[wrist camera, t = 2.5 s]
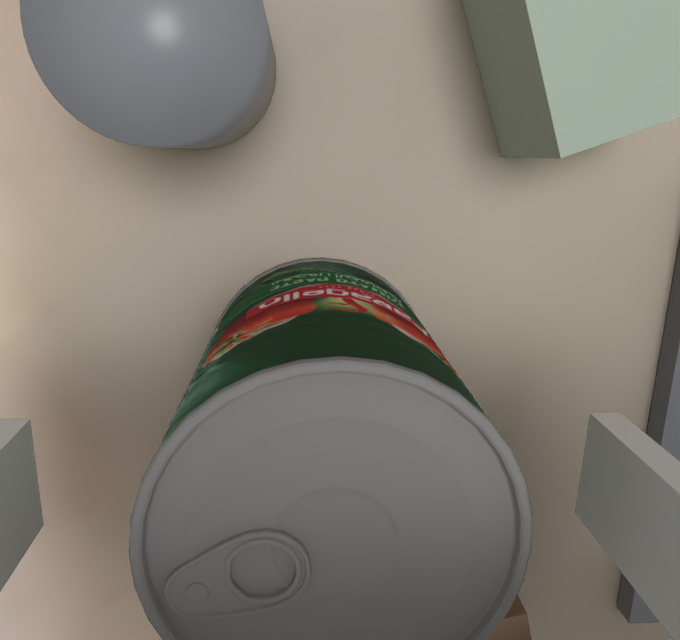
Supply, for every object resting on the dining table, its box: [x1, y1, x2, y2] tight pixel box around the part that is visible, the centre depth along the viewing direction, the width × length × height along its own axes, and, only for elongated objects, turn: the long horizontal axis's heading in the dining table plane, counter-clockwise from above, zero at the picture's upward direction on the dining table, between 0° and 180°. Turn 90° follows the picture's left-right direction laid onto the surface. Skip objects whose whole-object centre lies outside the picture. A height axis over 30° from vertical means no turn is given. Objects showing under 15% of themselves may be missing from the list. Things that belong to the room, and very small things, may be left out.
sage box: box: [462, 0, 680, 158], centre depth 18 cm, size 6×4×5 cm, turn 19°
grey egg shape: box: [20, 0, 276, 149], centre depth 16 cm, size 5×5×7 cm
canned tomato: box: [129, 258, 532, 640], centre depth 17 cm, size 8×8×11 cm
